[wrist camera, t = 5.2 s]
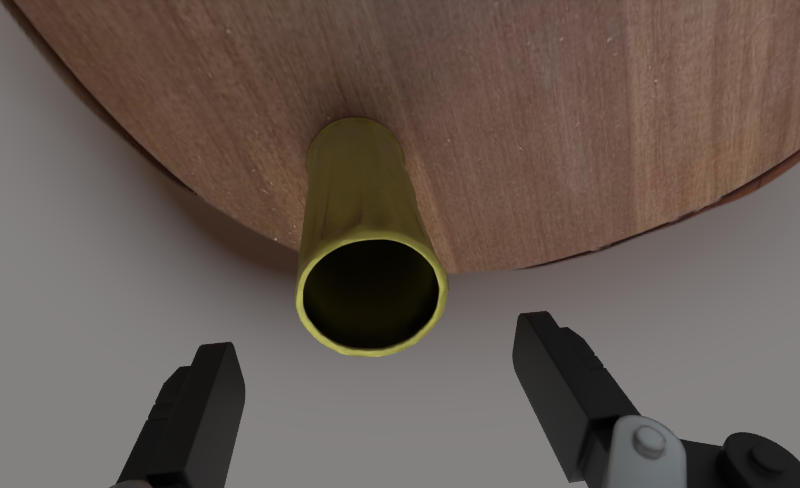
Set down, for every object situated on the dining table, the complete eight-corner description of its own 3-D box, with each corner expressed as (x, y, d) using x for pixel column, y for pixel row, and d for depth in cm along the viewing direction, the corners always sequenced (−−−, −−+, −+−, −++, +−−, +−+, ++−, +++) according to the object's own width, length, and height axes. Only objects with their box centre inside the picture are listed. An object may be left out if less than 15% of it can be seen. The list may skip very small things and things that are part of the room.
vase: (362, 226, 28) (382, 389, 16) (286, 171, 26) (241, 316, 13) (422, 159, 27) (498, 285, 14) (348, 94, 24) (360, 178, 12)
